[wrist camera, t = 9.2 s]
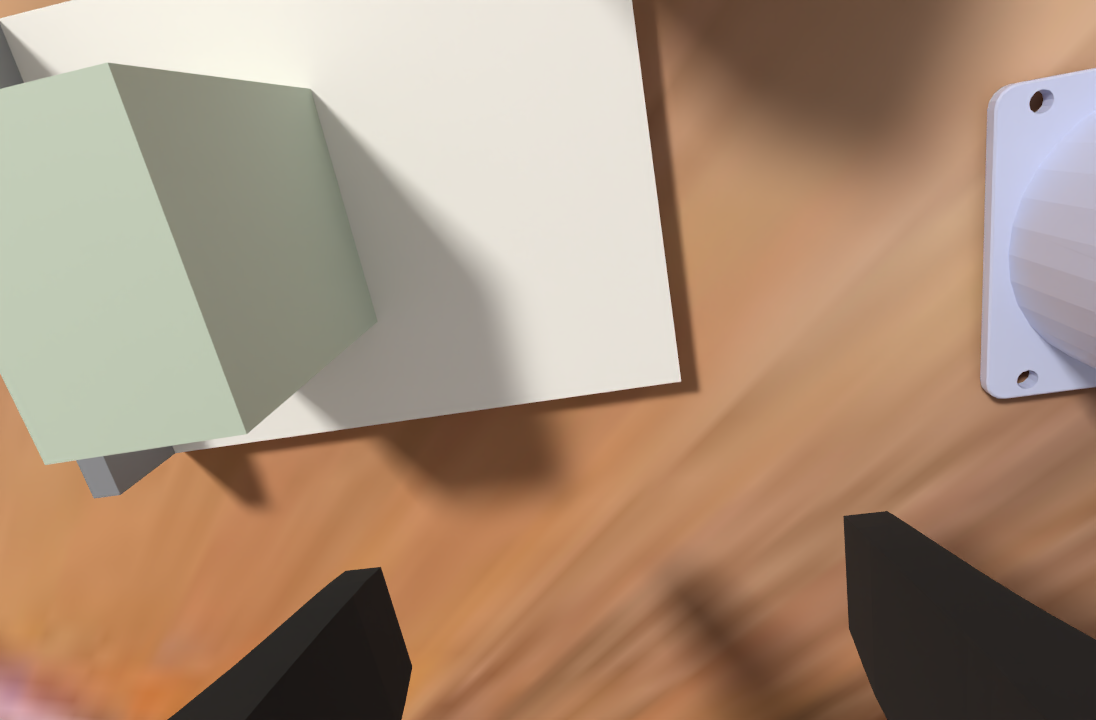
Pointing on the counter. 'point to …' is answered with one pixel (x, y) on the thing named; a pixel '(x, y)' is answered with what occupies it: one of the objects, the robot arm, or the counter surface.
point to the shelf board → (434, 189)
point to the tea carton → (166, 257)
